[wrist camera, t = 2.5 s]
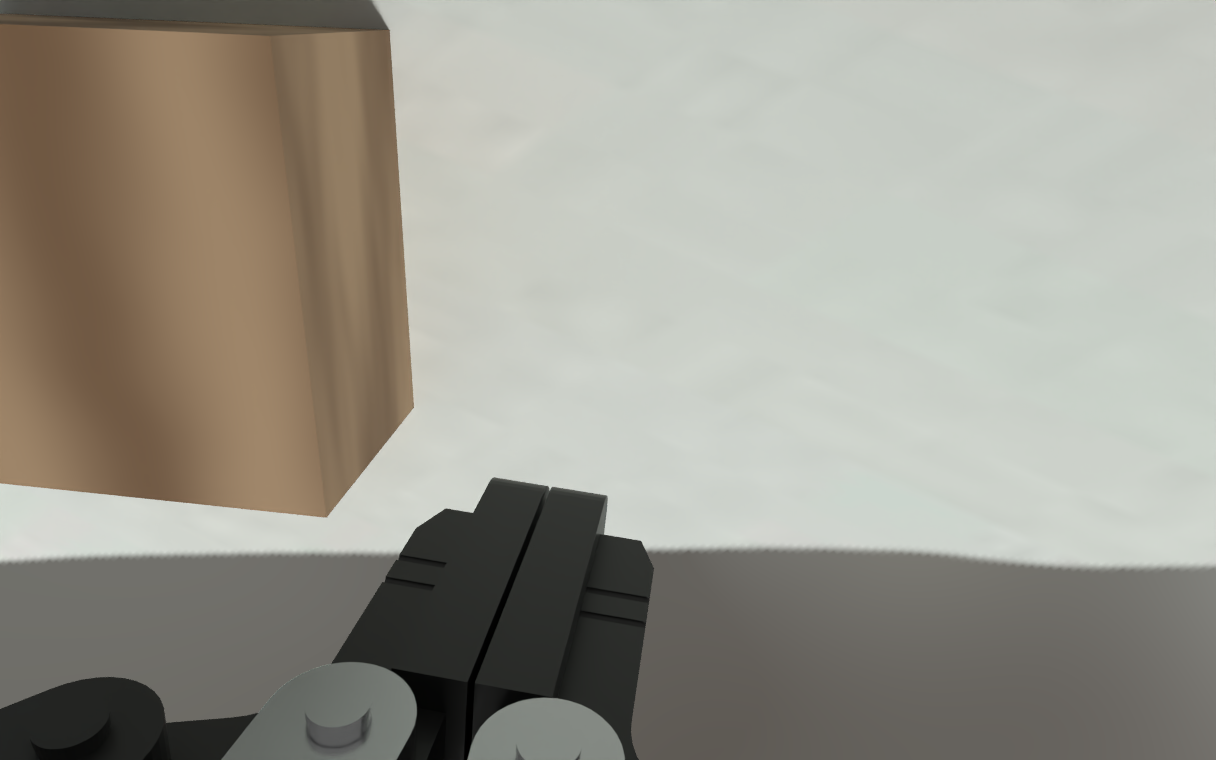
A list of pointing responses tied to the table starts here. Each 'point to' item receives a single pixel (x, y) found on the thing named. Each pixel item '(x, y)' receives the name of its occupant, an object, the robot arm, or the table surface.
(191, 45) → the walnut block
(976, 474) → the table surface
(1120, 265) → the table surface
